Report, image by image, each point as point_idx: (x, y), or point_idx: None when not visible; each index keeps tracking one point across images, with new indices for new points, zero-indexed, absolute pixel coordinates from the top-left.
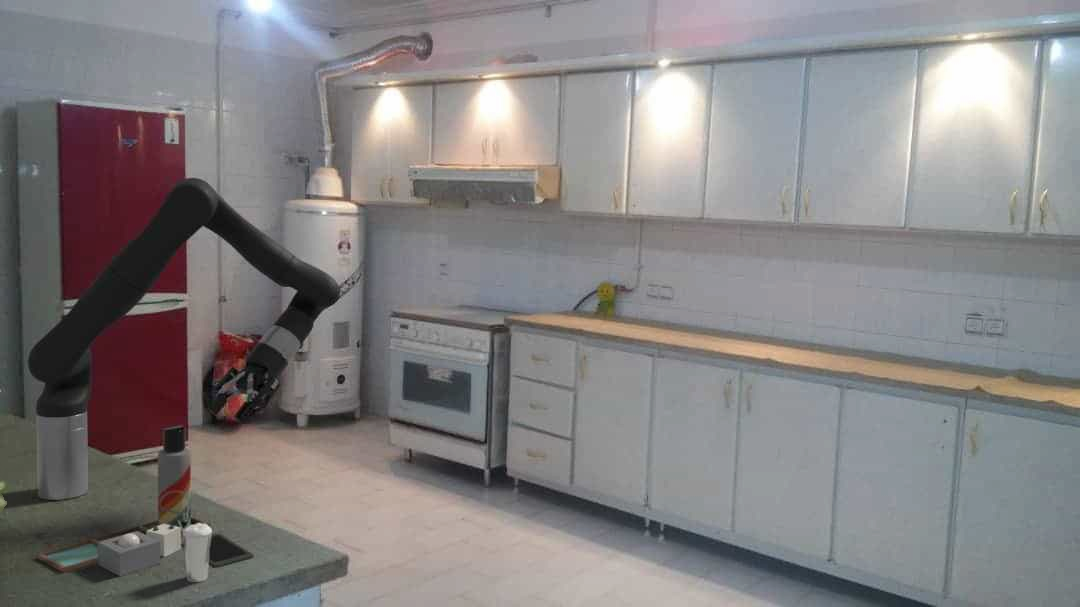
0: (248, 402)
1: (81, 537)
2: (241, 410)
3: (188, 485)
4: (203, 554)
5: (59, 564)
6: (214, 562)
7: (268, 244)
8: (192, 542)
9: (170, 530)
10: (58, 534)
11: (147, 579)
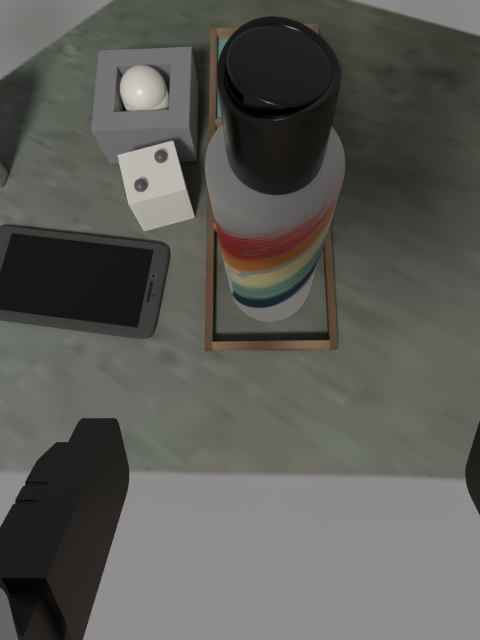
0: (14, 604)
1: (371, 125)
2: (56, 477)
3: (225, 256)
4: None
5: (234, 29)
6: (12, 232)
7: None
8: None
9: (131, 178)
10: (424, 102)
11: (64, 116)
